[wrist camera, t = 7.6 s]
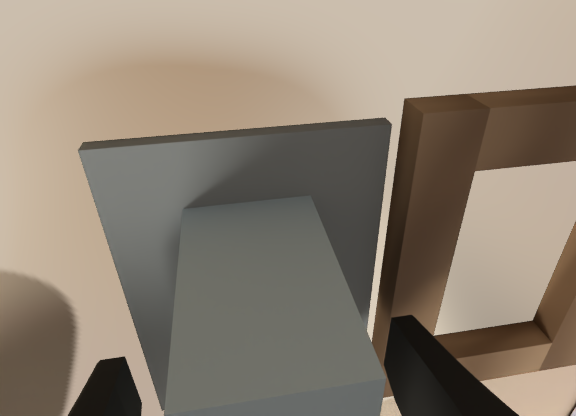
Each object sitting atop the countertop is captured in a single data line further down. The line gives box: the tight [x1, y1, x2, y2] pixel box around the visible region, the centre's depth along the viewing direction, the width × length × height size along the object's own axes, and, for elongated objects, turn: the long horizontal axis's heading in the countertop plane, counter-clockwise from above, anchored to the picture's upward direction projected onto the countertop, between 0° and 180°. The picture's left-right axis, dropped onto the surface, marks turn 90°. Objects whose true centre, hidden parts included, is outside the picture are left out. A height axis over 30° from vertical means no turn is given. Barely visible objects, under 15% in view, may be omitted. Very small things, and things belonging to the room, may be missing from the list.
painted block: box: [164, 195, 386, 416], centre depth 11 cm, size 4×7×6 cm, turn 1°
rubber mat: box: [78, 118, 392, 410], centre depth 14 cm, size 8×11×1 cm
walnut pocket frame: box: [372, 86, 576, 398], centre depth 15 cm, size 9×12×1 cm
